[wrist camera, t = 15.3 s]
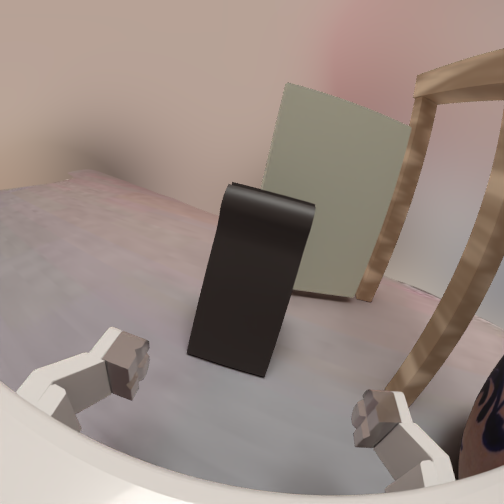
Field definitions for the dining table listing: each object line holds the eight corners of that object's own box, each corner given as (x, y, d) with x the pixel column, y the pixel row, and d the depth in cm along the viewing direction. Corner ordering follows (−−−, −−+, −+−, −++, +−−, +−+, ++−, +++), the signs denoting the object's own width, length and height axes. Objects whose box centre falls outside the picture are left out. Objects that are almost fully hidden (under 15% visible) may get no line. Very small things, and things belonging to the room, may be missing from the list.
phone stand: (263, 379, 20) (317, 225, 15) (185, 354, 20) (208, 195, 16) (278, 312, 28) (315, 193, 23) (219, 295, 29) (244, 174, 24)
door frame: (388, 408, 18) (525, 43, 7) (352, 289, 36) (417, 75, 24) (411, 409, 18) (546, 64, 7) (368, 293, 36) (434, 83, 24)
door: (240, 269, 33) (283, 85, 25) (346, 286, 35) (399, 125, 26) (240, 281, 30) (288, 82, 22) (353, 297, 32) (411, 127, 24)
